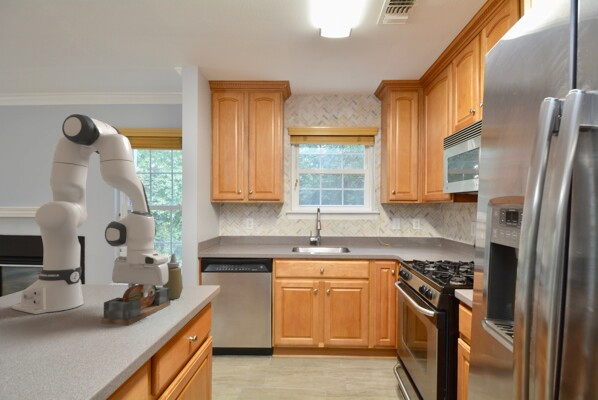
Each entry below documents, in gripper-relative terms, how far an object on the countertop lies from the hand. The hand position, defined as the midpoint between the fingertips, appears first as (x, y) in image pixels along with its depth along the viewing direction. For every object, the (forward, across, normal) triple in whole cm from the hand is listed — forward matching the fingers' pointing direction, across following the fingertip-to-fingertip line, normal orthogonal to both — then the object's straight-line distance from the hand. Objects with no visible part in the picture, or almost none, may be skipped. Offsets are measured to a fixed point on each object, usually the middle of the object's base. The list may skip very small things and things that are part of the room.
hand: (139, 296), depth 111 cm
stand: (+6, 0, 0) cm, 6 cm away
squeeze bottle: (+6, 0, +20) cm, 21 cm away
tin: (+4, 0, 0) cm, 4 cm away
